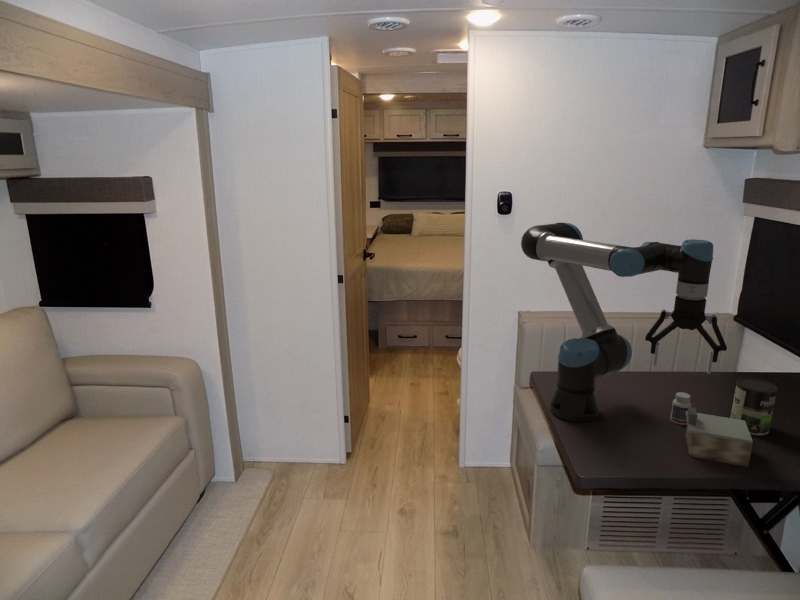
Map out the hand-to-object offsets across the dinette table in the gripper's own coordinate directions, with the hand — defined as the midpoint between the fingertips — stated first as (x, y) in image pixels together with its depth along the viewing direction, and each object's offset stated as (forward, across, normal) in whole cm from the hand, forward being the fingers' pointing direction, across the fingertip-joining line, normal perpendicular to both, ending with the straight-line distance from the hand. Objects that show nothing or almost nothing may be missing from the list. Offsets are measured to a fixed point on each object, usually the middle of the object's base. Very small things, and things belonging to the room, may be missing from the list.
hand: (681, 368), depth 150 cm
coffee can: (+22, +20, +15) cm, 33 cm away
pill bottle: (+21, +2, +10) cm, 24 cm away
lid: (+14, +10, -5) cm, 18 cm away
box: (+21, +11, -5) cm, 24 cm away
